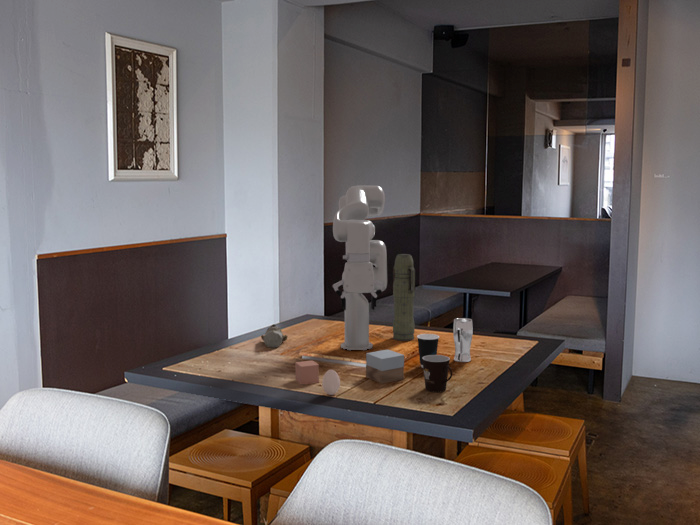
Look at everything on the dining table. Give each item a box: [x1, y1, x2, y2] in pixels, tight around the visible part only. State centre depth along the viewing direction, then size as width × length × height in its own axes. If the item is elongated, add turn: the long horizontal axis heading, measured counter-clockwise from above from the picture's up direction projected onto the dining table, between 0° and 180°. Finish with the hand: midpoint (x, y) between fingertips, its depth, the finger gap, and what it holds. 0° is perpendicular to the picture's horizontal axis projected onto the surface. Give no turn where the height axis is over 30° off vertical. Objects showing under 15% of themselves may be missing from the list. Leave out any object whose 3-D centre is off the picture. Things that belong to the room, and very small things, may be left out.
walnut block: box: [365, 364, 405, 385], centre depth 238 cm, size 9×9×4 cm
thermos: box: [392, 253, 416, 342], centre depth 294 cm, size 9×12×35 cm
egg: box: [321, 369, 341, 396], centre depth 220 cm, size 6×6×8 cm
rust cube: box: [295, 360, 320, 385], centre depth 235 cm, size 6×6×6 cm
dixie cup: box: [416, 333, 440, 369], centre depth 251 cm, size 8×8×11 cm
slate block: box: [365, 349, 405, 371], centre depth 237 cm, size 9×9×4 cm
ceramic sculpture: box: [260, 323, 288, 349], centre depth 285 cm, size 11×9×15 cm
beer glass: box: [452, 317, 474, 363], centre depth 260 cm, size 7×7×15 cm
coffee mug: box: [422, 354, 453, 393], centre depth 223 cm, size 12×9×10 cm
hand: (358, 309), depth 239 cm, fingers open, 9 cm apart
